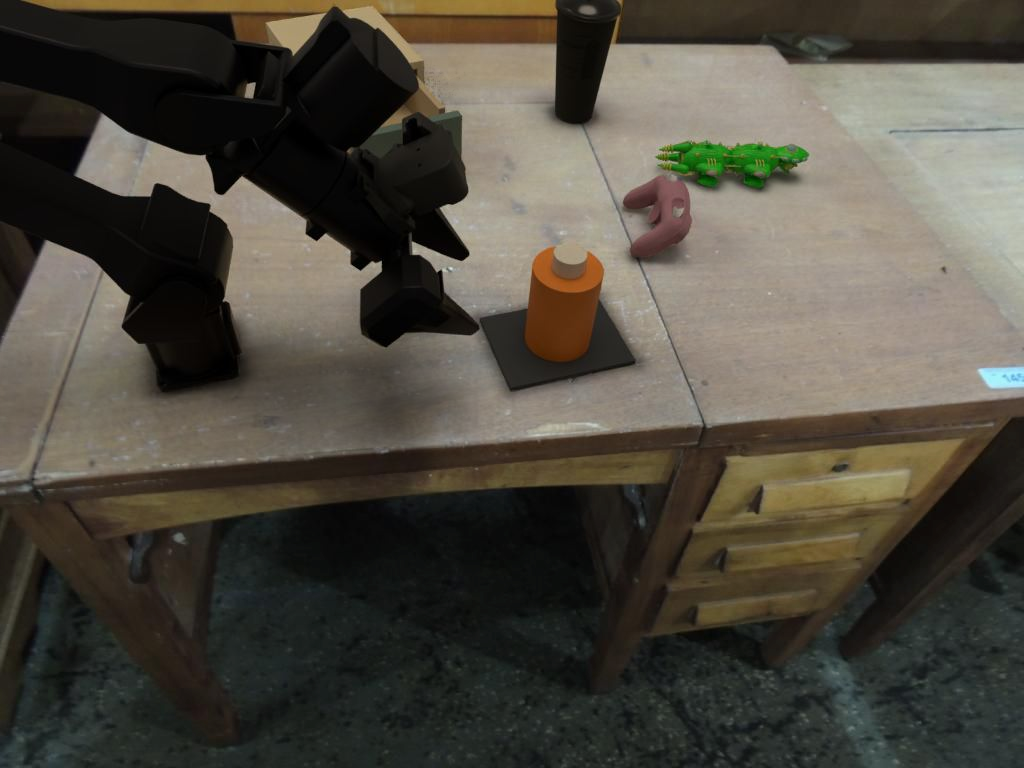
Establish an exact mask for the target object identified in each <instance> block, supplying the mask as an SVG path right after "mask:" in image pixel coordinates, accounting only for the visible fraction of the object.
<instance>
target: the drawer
mask: <svg viewBox="0 0 1024 768" xmlns="http://www.w3.org/2000/svg"><path fill="white" fill-rule="evenodd" d="M417 79H418V82H419V89H418V91H417V92H416V93H415V94H414V95H413V96H412V97H411V98H410V99H409V100H408V101H407V102H406V103H404V104H403V105H402V106H401V107H400V108H399V109H398V110H397V111H396V112H395V113H394V114H393V115H392V116H391V117H390V118H389V119H388V120H387V121H386V122H385V123H384V124H383V125H382V126H381V127H380V128H379V129H378V130H377V131H376V132H375V133H374V134H373V135H372V136H370V137H369V138H368V139H367V140H366V141H365V142H364V143H363V144H362V145H361V146H359V148H361V149H362V150H364V149H368V150H369V151H370V152H371V153H373V154H374V155H375V156H377V157H379V158H382V157H383V156H384V155H385V154H386V153H387V152H388V151H389V150H390V149H392V148H393V144H396V143H398V144H402V119H403V118H405V117H407V116H409V115H411V114H414V113H416V112H420V113H421V114H423V115H424V116H426V117H427V118H428V119H430V120H431V121H433V122H434V123H435V124H436V125H437V126H438V125H440V124H442V125H443V127H444V129H445V130H449V131H450V132H451V133H452V138H453V144H454V146H455V148H456V150H457V151H458V153H459V155H460V157H461V159H462V156H463V155H462V153H463V152H462V150H463V115H462V114H461V112H460V111H459V110H452V111H448V112H446V106H445V105H444V104H443V103H442V102H441V100H439V99H438V97H436V95H435V94H434V93H432V91H431V90H430V89H429V88H428V87H427V86H426V84H425V85H424V84H423V83H422V81H421V80H420V79H419V78H418V77H417ZM356 148H357V147H356ZM356 148H352V147H351V148H350V149H349V150H348V151H347V152H349V153H350V154H351V153H352V152H353V151H354V150H355V149H356ZM462 160H463V159H462Z"/></svg>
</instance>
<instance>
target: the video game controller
mask: <svg viewBox="0 0 1024 768" xmlns="http://www.w3.org/2000/svg"><path fill="white" fill-rule="evenodd" d="M622 206H623V207H624V208H625V209H626V210H633V211H634V210H635V211H636V210H642V209H646V208H649V207H652V208H651V209H650V211H649V213H648V217H647V222H648V223H650V224H652V225H653V226H654V227H653V229H652V230H651V231H649V232H646V233H644V234H642V235H641V236H639V237H638V238H636V239H635V240H634V241H633V242H632V243H631V244H630V247H629V253H630V254H631V256H632V257H635V258H648V257H652V256H656V255H658V254H660V253H662V252H664V251H666V250H667V249H669V248H672V246H674V245H678V244H680V243H681V242H682V241H684V239H686V237H687V236H688V234H689V233H690V229H691V228H692V227H691V226H692V224H693V216H692V215H691V213H690V212H691V196H690V192H689V189H688V186H687V185H686V183H685V182H684V180H683V179H682V178H681V177H679V176H676V175H674V174H671V175H669V172H666V173H665V174H660V175H657V176H655V177H654V178H652V179H651V180H649V181H647V182H646V183H643V184H641V185H639V186H636V187H635V188H633V189H631V190H629V192H627V193H626V194H625V195H624V197H623V199H622Z"/></svg>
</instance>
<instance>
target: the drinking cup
mask: <svg viewBox="0 0 1024 768" xmlns="http://www.w3.org/2000/svg"><path fill="white" fill-rule="evenodd" d="M554 7H555V9H556V42H555V43H556V44H555V45H556V46H555V87H554V115H555V116H556V118H557V119H558V120H560V121H562V122H564V123H568V124H572V125H579V124H585V123H587V122H589V121H591V119H592V118H593V114H594V110H595V106H596V102H597V98H598V94H599V91H600V87H601V82H602V79H603V75H604V71H605V67H606V64H607V59H608V56H609V52H610V48H611V44H612V41H613V40H612V39H613V37H614V32H615V29H616V25H617V22H618V18H619V17H620V16H621V13H622V9H623V8H622V5H621V2H619V1H618V0H555V3H554Z"/></svg>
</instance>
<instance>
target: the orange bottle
mask: <svg viewBox="0 0 1024 768" xmlns="http://www.w3.org/2000/svg"><path fill="white" fill-rule="evenodd" d="M604 275H605V269H604V266H603V264H602V262H601V261H600V259H599V258H598V257H597V256H596V255H595V254H593V253H592V252H591V251H588V250H586V249H585V248H584V246H582V245H581V244H578V243H575V242H563V243H559V244H558V245H556V246H552V247H548V248H545V249H544V250H543V249H542V251H540V252H539V253H538V254H537V255H536V256H534V259H533V261H532V266H531V276H530V284H529V293H528V304H527V309H528V310H527V320H526V329H525V341H526V344H527V346H528V347H529V349H530V350H531V351H532V352H533V353H534V354H535V355H537V356H538V357H540V358H542V359H545V360H548V361H552V362H569V361H572V360H575V359H577V358H579V357H581V356H582V355H583V354H584V353H585V352H586V351H587V349H588V347H589V344H590V339H591V334H592V329H593V324H594V319H595V315H596V310H597V305H598V300H600V296H601V295H600V294H601V291H602V285H603V281H604Z"/></svg>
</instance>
